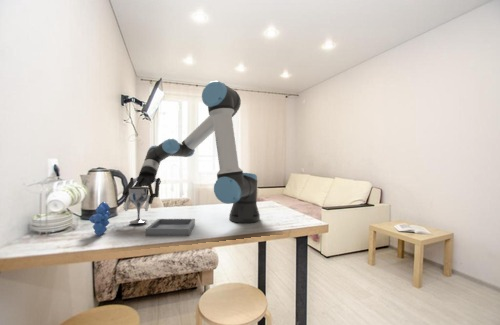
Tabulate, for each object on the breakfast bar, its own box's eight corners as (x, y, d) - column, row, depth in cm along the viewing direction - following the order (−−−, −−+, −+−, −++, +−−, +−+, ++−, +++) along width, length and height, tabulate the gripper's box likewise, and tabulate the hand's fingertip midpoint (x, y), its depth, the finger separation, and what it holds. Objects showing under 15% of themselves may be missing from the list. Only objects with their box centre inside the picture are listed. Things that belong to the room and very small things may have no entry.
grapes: (94, 229, 91) (95, 200, 91) (113, 228, 93) (114, 199, 93) (81, 239, 80) (82, 205, 80) (103, 238, 82) (104, 205, 82)
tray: (194, 224, 102) (194, 218, 102) (188, 235, 87) (188, 228, 87) (158, 224, 100) (158, 218, 100) (145, 235, 85) (145, 229, 85)
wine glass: (140, 224, 96) (140, 189, 96) (124, 223, 98) (124, 188, 98) (152, 219, 104) (152, 187, 104) (136, 218, 106) (137, 186, 106)
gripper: (171, 175, 117) (161, 214, 101) (130, 175, 115) (113, 214, 99) (169, 165, 112) (158, 204, 96) (125, 165, 110) (107, 204, 94)
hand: (135, 209), depth 98 cm, fingers closed on wine glass, 8 cm apart
